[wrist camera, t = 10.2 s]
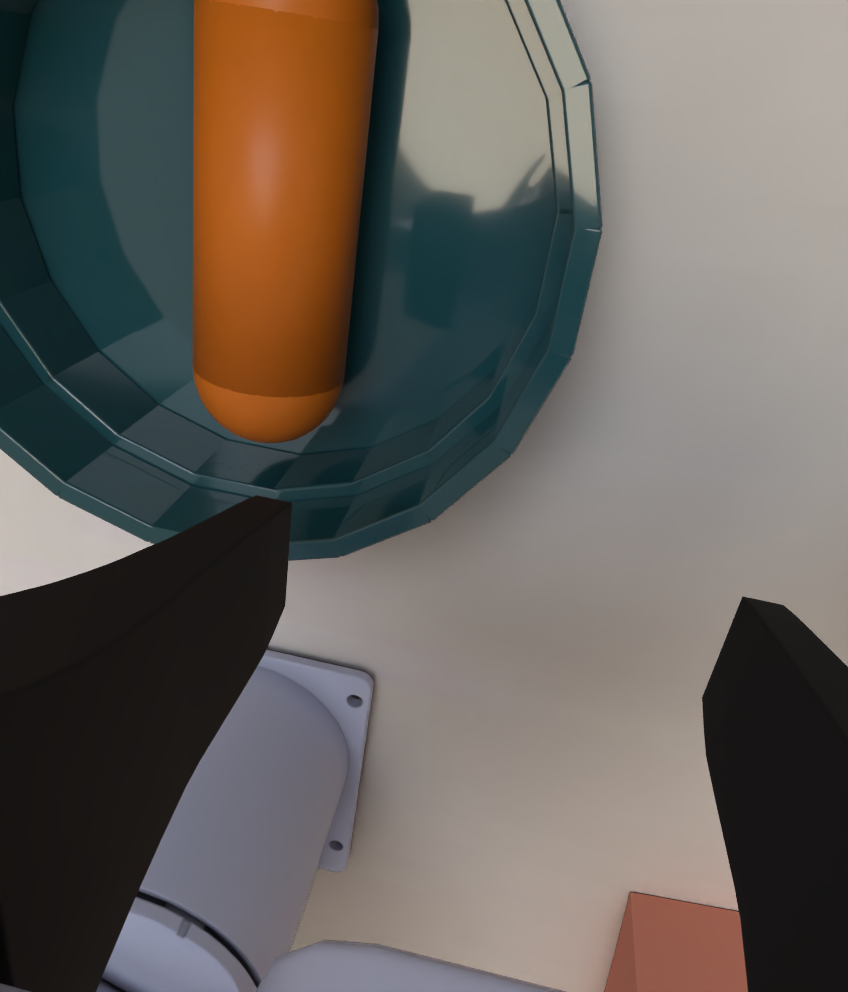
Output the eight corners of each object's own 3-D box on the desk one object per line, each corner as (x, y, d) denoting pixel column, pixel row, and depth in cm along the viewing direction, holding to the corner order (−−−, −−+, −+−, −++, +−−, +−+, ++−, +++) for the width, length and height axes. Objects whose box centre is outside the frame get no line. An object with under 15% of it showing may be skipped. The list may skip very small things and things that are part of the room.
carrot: (329, 411, 22) (347, 470, 19) (193, 405, 21) (190, 467, 18) (372, -66, 17) (406, -88, 14) (196, -101, 16) (191, -133, 13)
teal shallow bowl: (522, 518, 23) (510, 622, 18) (26, 416, 24) (-98, 490, 19) (673, -143, 16) (712, -235, 11) (-40, -238, 17) (-257, -354, 12)
